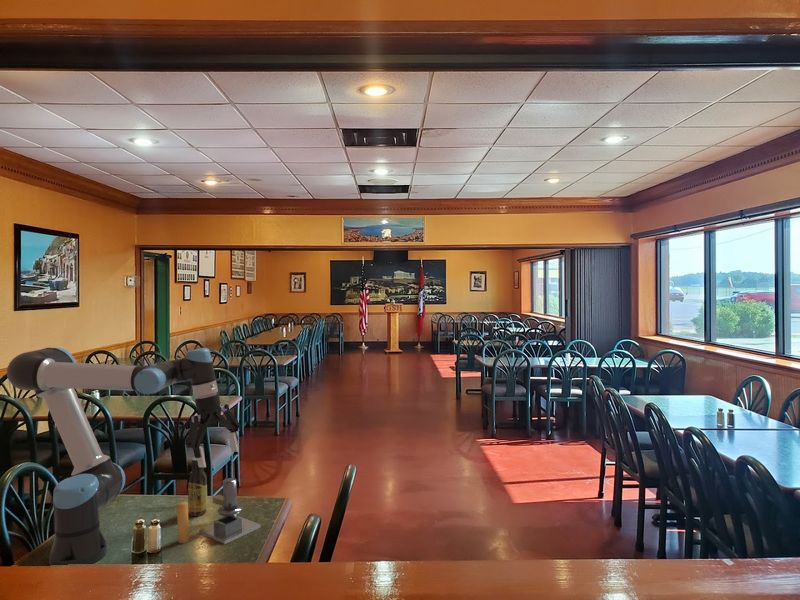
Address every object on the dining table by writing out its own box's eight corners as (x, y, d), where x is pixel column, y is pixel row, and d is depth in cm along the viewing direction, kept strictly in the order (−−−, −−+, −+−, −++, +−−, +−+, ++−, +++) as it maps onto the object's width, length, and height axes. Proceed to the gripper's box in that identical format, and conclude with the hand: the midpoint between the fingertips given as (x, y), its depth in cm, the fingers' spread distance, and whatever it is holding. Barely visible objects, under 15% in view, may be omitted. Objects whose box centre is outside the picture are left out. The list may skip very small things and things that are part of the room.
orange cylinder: (176, 541, 173) (174, 504, 173) (185, 537, 176) (184, 500, 176) (181, 544, 172) (180, 506, 171) (191, 540, 174) (189, 503, 174)
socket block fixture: (190, 529, 182) (188, 484, 182) (226, 514, 193) (224, 472, 193) (224, 544, 171) (223, 496, 170) (260, 527, 182) (259, 482, 182)
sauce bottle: (184, 516, 193) (182, 460, 192) (196, 508, 199) (194, 454, 198) (200, 518, 191) (198, 461, 190) (211, 510, 197) (209, 456, 196)
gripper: (181, 406, 165) (195, 474, 166) (243, 384, 187) (255, 445, 187) (166, 407, 169) (179, 473, 170) (228, 386, 191) (240, 445, 191)
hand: (219, 459), depth 179 cm, fingers open, 13 cm apart
